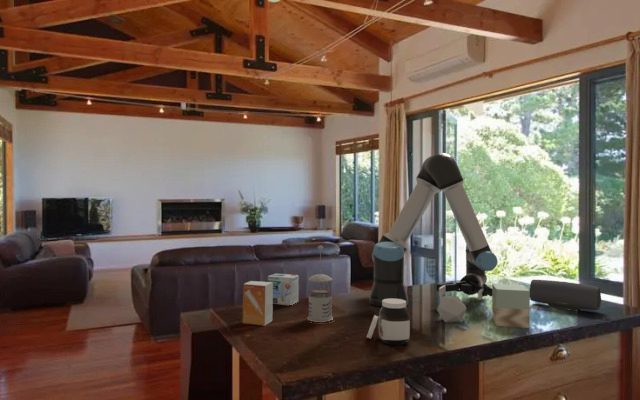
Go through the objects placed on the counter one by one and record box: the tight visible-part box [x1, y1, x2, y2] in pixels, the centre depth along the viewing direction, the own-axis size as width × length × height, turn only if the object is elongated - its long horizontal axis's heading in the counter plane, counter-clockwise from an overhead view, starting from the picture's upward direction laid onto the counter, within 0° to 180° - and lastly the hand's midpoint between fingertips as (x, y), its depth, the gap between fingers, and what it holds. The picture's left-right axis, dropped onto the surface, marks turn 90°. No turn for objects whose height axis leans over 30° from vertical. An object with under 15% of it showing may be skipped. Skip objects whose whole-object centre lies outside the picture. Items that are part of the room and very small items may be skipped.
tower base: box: [491, 301, 530, 329], centre depth 153 cm, size 10×10×6 cm
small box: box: [242, 280, 274, 327], centre depth 151 cm, size 8×6×13 cm
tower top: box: [491, 283, 531, 311], centre depth 153 cm, size 10×10×6 cm
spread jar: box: [366, 298, 411, 346], centre depth 133 cm, size 12×11×12 cm
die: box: [436, 295, 467, 323], centre depth 154 cm, size 8×9×10 cm
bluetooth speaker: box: [528, 279, 602, 311], centre depth 173 cm, size 23×9×10 cm, turn 49°
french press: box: [306, 245, 334, 322], centre depth 156 cm, size 10×12×25 cm
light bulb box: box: [267, 273, 300, 306], centre depth 179 cm, size 11×7×11 cm, turn 68°
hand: (459, 294), depth 163 cm, fingers open, 13 cm apart
